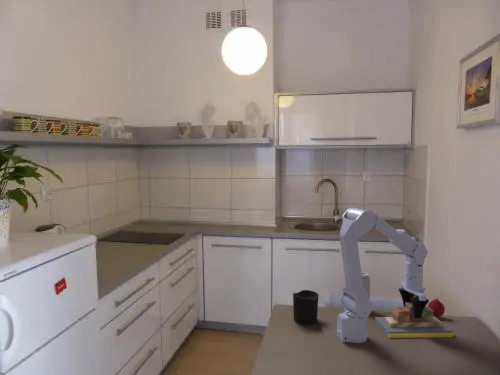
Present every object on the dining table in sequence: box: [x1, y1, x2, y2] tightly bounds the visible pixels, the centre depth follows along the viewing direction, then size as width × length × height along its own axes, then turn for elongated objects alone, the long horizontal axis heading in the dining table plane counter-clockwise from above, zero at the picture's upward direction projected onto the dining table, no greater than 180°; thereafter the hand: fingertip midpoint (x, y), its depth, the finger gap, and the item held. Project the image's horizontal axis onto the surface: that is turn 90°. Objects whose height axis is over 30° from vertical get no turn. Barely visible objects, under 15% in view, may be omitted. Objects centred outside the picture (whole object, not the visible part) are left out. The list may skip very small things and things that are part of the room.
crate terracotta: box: [392, 306, 410, 323], centre depth 131 cm, size 4×4×4 cm
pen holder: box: [292, 289, 319, 325], centre depth 140 cm, size 9×9×10 cm
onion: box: [427, 297, 446, 319], centre depth 142 cm, size 6×6×8 cm
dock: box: [374, 316, 454, 339], centre depth 132 cm, size 22×13×2 cm, turn 92°
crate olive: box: [421, 305, 433, 322], centre depth 131 cm, size 4×4×4 cm
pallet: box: [384, 302, 443, 327], centre depth 131 cm, size 18×5×7 cm, turn 92°
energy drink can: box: [361, 271, 371, 301], centre depth 149 cm, size 6×6×15 cm
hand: (412, 313), depth 131 cm, fingers open, 7 cm apart
